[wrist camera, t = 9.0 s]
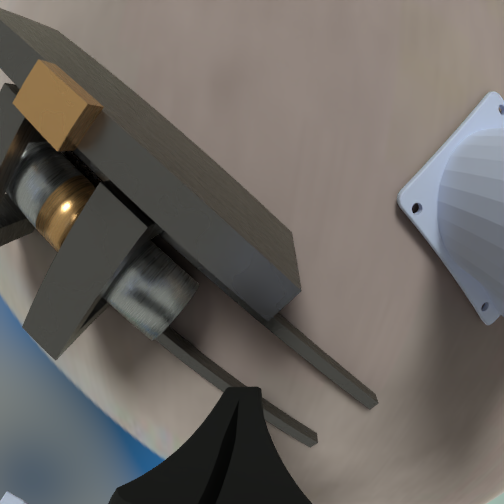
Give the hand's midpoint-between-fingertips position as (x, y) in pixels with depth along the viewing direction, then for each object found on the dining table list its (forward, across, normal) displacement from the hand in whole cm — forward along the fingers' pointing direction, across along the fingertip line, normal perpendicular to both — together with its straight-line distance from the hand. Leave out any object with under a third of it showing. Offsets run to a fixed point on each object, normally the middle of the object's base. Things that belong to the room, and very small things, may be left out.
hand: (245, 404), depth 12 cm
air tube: (+3, +6, -8) cm, 11 cm away
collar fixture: (+4, +3, -5) cm, 7 cm away
